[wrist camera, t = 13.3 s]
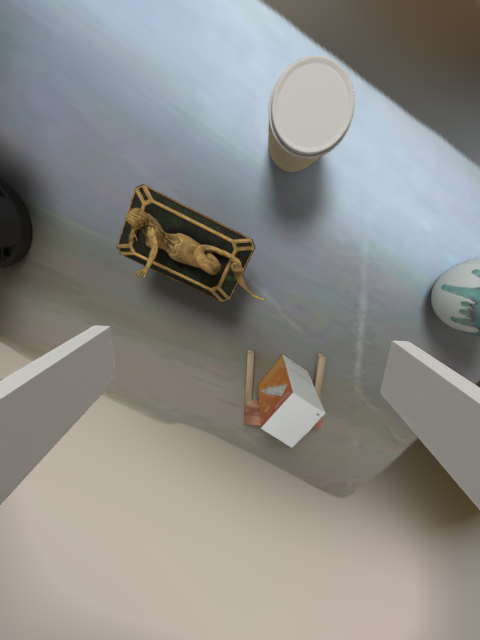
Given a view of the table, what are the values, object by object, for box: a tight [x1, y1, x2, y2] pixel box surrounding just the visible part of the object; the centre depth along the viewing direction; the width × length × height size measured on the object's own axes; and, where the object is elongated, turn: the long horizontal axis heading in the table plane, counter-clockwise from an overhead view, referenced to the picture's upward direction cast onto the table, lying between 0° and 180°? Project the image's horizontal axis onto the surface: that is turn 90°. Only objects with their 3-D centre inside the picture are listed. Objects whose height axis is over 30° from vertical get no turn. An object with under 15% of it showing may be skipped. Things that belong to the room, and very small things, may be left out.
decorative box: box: [117, 184, 264, 302], centre depth 35 cm, size 20×10×20 cm, turn 64°
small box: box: [258, 355, 325, 448], centre depth 45 cm, size 8×6×13 cm
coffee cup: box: [268, 56, 355, 172], centre depth 34 cm, size 9×9×12 cm
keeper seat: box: [244, 350, 326, 429], centre depth 50 cm, size 14×13×5 cm
